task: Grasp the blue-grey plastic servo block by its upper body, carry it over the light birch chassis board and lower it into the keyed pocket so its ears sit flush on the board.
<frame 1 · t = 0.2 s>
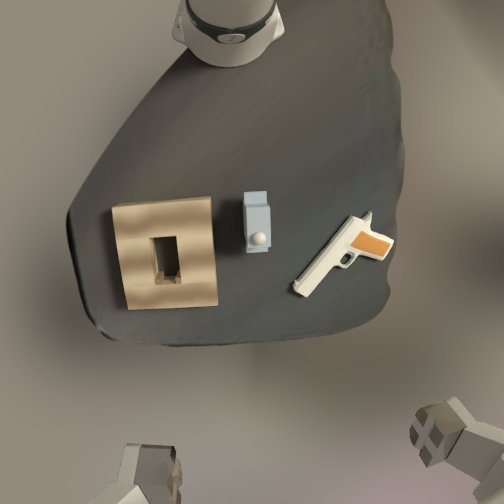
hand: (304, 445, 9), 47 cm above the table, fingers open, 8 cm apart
pistol: (344, 259, 59), on the table
servo: (253, 217, 54), on the table
chassis: (168, 251, 55), on the table
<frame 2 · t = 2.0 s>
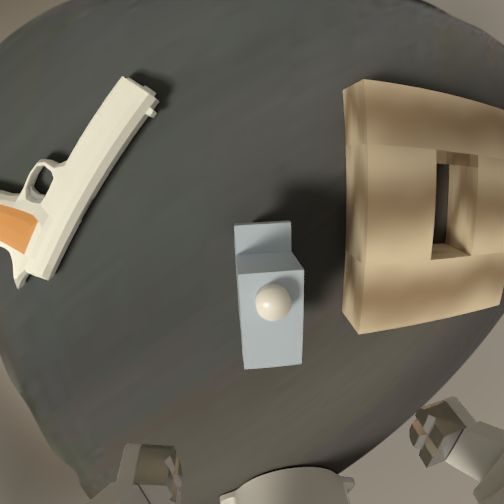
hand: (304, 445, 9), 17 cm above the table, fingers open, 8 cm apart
pistol: (48, 171, 22), on the table
servo: (258, 273, 25), on the table
chassis: (429, 204, 24), on the table
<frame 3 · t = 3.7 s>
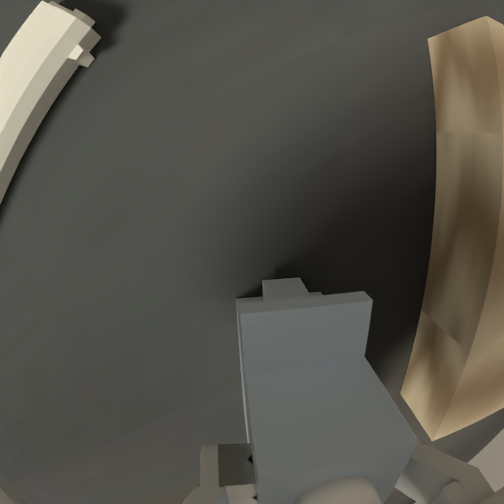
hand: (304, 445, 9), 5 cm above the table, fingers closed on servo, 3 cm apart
servo: (278, 356, 13), on the table, touching gripper
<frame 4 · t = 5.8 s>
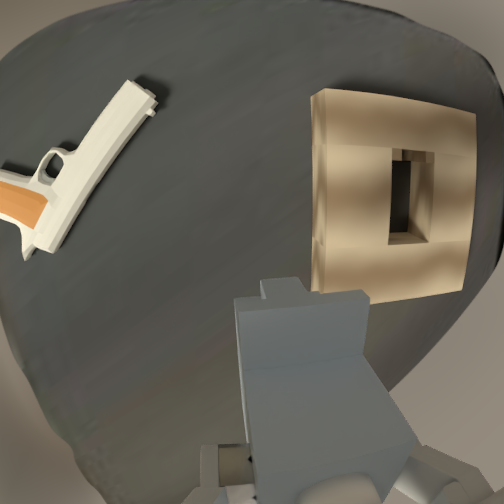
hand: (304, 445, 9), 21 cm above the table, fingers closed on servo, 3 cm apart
pistol: (58, 158, 25), on the table
servo: (277, 355, 14), point 16 cm above the table, touching gripper
chassis: (390, 196, 28), on the table
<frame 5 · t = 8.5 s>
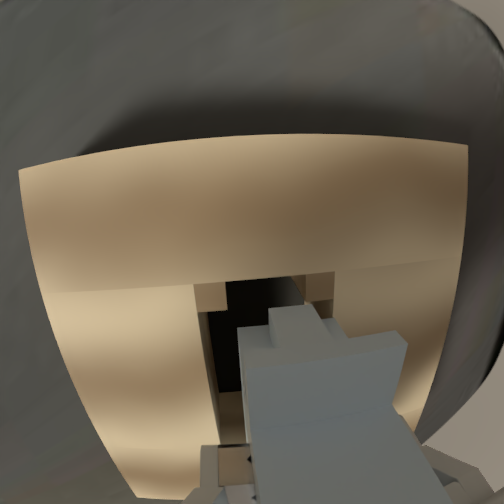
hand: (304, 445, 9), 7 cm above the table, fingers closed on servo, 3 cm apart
servo: (285, 388, 12), point 4 cm above the table, touching chassis, gripper
chassis: (257, 335, 15), on the table
when the fingers open (6 cm above the table, at t = 9.5 s): servo drops 4 cm, resting on chassis.
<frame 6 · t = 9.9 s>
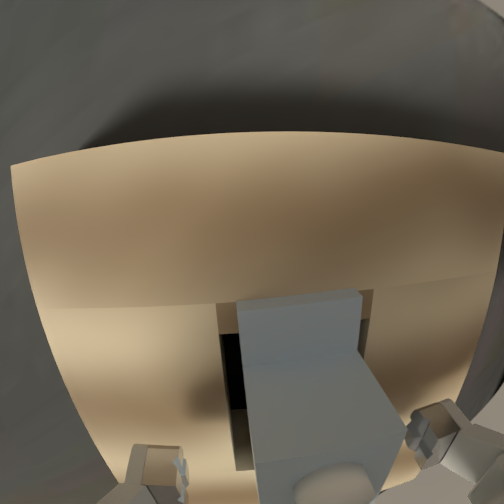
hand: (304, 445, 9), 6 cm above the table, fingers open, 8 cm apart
servo: (278, 352, 14), resting on chassis
chassis: (276, 350, 14), on the table
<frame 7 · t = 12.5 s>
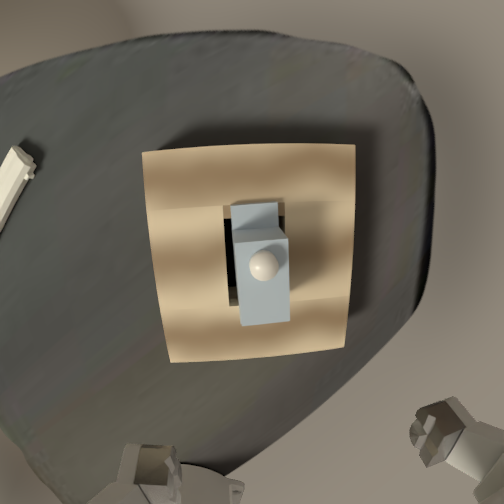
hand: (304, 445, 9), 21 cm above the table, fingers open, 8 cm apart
servo: (252, 249, 29), resting on chassis
chassis: (251, 247, 29), on the table
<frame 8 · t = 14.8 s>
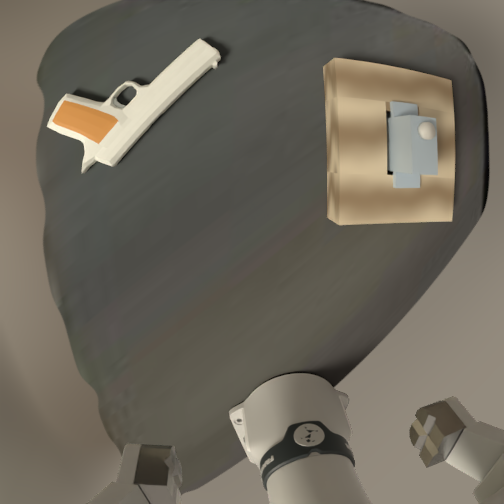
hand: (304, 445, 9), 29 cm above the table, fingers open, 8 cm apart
pistol: (128, 92, 31), on the table
servo: (388, 144, 35), resting on chassis
chassis: (387, 143, 35), on the table
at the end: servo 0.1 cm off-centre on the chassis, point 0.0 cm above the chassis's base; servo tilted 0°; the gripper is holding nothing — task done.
